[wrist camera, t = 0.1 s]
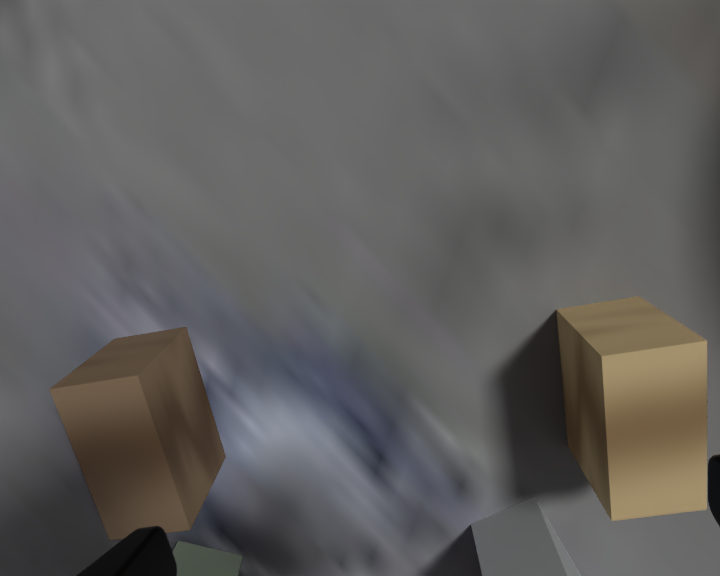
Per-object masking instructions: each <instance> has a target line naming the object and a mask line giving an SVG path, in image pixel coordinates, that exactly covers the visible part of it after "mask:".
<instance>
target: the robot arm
mask: <svg viewBox="0 0 720 576" xmlns="http://www.w3.org/2000/svg"><path fill="white" fill-rule="evenodd" d="M708 502H709V507H710V510H711V512H712V514H713V516H714V518H715V520H716V521H717V523H718V525H719V526H720V455H714V456H712V457H711V458H710V459H709V462H708ZM77 576H177V565H176V561H175V558H174V555H173V552H172V549H171V547H170V544H169V541H168V538H167V536H166V533H165V531H164V529H163V528H162V527H160V526H151V527H143V528H138V529H136V530H134V531H133V532H132V533H131V534H129V535H128V536H127V537H125V538H124V539H123V540H122V541H120V542H119V543H118V544H116V545H115V546H114V547H113V548H111V549H110V550H109V551H108V552H106V553H105V554H104V555H102V556H101V557H100V558H99V559H97V560H96V561H95V562H93V563H92V564H91V565H90V566H88V567H87V568H86V569H85V570H83V571H82V572H81V573H79V574H78V575H77Z"/></svg>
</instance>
